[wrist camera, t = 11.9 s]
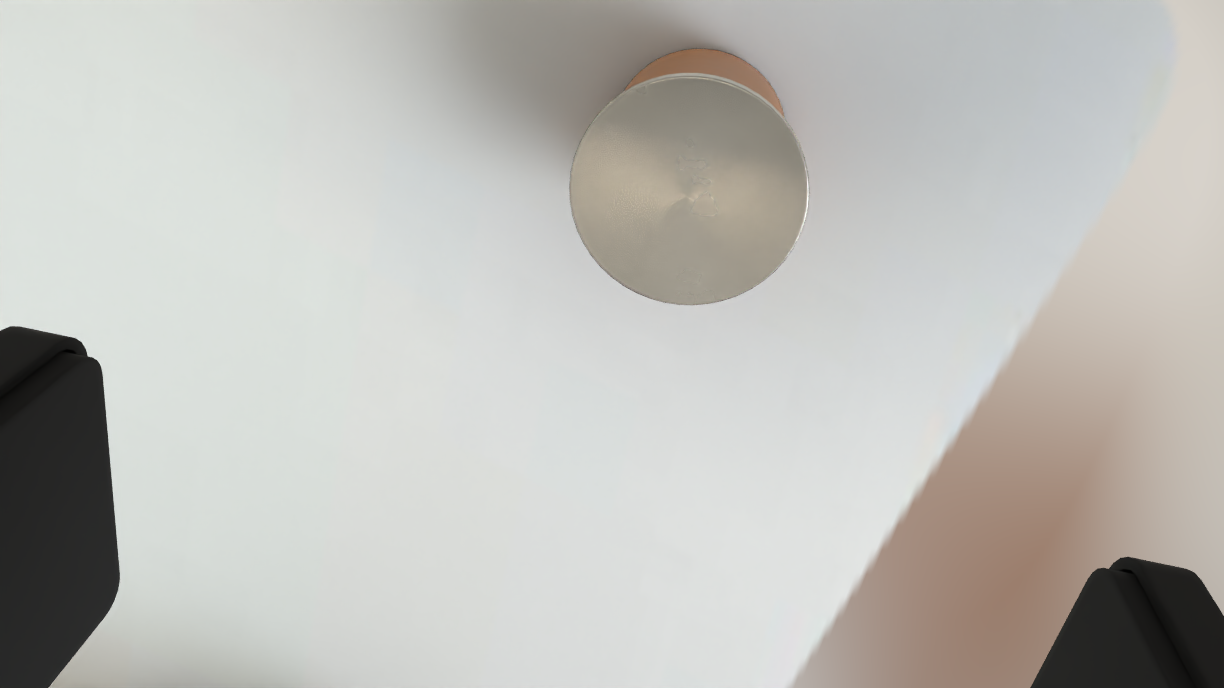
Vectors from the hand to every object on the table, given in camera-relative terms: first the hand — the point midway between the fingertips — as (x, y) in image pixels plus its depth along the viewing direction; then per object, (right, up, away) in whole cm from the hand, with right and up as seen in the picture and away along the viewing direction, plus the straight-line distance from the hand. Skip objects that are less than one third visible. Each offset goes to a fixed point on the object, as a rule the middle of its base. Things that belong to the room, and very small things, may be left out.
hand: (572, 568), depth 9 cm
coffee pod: (+2, +7, +12) cm, 14 cm away
